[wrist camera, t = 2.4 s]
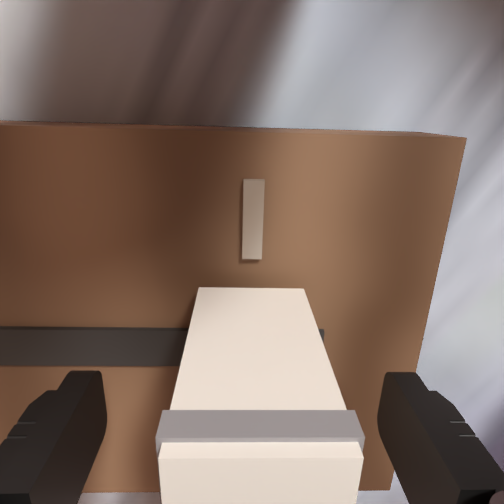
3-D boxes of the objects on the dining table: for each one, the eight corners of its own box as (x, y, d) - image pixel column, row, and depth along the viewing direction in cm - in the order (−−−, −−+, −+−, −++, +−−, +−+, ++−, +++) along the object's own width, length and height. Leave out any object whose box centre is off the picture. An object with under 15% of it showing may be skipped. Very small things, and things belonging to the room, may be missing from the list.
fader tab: (307, 285, 11) (371, 453, 6) (295, 418, 13) (335, 643, 8) (195, 284, 11) (151, 453, 6) (199, 418, 13) (168, 646, 8)
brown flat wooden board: (419, 131, 13) (473, 138, 10) (366, 432, 18) (392, 497, 15) (-412, 109, 12) (-627, 108, 9) (-233, 433, 17) (-335, 503, 14)
